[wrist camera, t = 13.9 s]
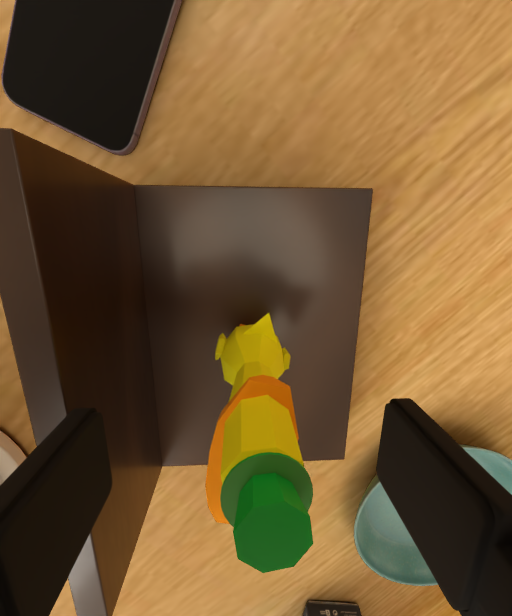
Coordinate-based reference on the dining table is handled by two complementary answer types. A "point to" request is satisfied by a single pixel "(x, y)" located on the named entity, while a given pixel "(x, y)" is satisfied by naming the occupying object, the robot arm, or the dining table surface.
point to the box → (331, 609)
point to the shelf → (169, 318)
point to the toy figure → (259, 453)
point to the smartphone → (88, 64)
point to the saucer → (393, 534)
